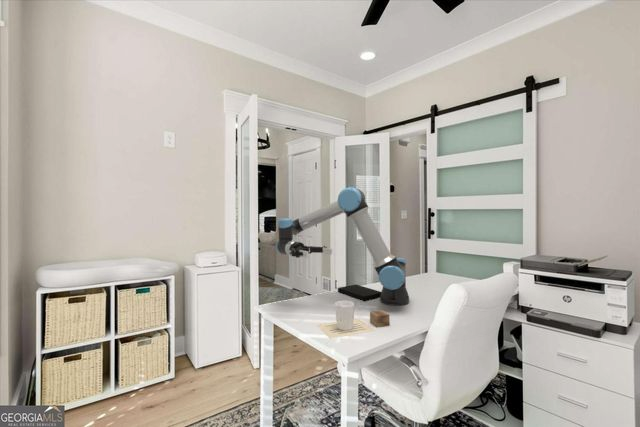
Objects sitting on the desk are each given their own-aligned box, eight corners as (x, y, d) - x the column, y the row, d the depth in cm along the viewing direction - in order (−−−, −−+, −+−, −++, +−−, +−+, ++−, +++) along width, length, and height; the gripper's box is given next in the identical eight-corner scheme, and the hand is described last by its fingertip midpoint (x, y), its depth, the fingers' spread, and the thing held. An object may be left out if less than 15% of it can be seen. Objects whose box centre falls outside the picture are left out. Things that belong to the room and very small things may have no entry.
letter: (358, 318, 139) (358, 318, 139) (375, 330, 125) (375, 330, 125) (316, 325, 132) (316, 324, 132) (330, 339, 118) (330, 338, 118)
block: (382, 321, 136) (382, 310, 136) (389, 326, 130) (389, 314, 130) (370, 323, 134) (369, 311, 134) (376, 328, 129) (376, 316, 128)
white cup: (335, 323, 133) (335, 300, 133) (353, 323, 133) (353, 300, 132) (335, 331, 125) (335, 306, 125) (355, 331, 125) (355, 306, 125)
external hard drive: (356, 289, 192) (356, 284, 192) (383, 297, 173) (383, 292, 172) (337, 292, 184) (337, 287, 184) (364, 302, 165) (364, 296, 164)
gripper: (273, 243, 153) (296, 247, 136) (315, 239, 167) (340, 242, 150) (274, 259, 153) (297, 264, 136) (315, 253, 168) (340, 258, 150)
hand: (320, 253), depth 143 cm, fingers open, 13 cm apart
